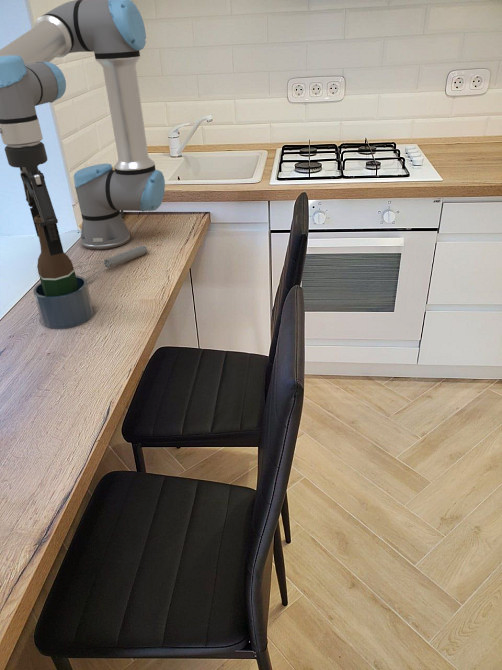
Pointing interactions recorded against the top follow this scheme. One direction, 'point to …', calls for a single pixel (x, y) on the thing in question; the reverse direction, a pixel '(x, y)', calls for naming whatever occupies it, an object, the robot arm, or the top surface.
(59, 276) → the beer bottle
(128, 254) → the kitchen whisk
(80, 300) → the metal cup
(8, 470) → the top surface
